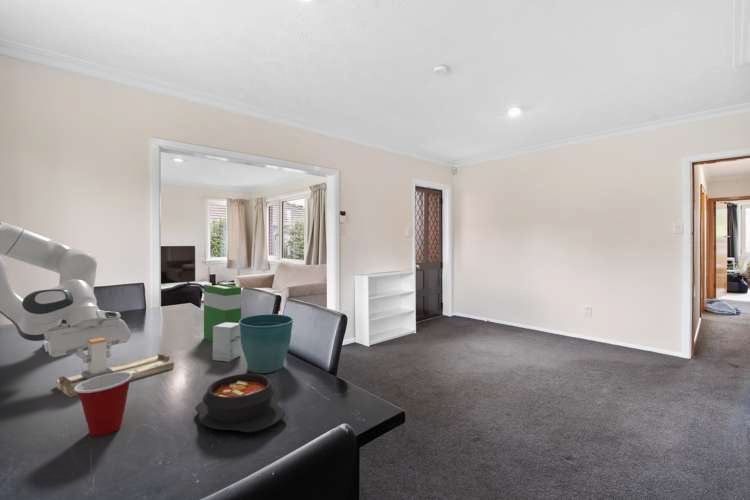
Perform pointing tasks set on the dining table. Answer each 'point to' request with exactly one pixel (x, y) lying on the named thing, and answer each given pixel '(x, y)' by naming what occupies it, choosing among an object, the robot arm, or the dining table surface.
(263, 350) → the flower pot
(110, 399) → the plastic cup
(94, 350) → the fader handle
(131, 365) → the fader console
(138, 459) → the dining table surface
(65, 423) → the dining table surface
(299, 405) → the dining table surface
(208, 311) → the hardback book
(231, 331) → the supplement box
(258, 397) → the casserole
